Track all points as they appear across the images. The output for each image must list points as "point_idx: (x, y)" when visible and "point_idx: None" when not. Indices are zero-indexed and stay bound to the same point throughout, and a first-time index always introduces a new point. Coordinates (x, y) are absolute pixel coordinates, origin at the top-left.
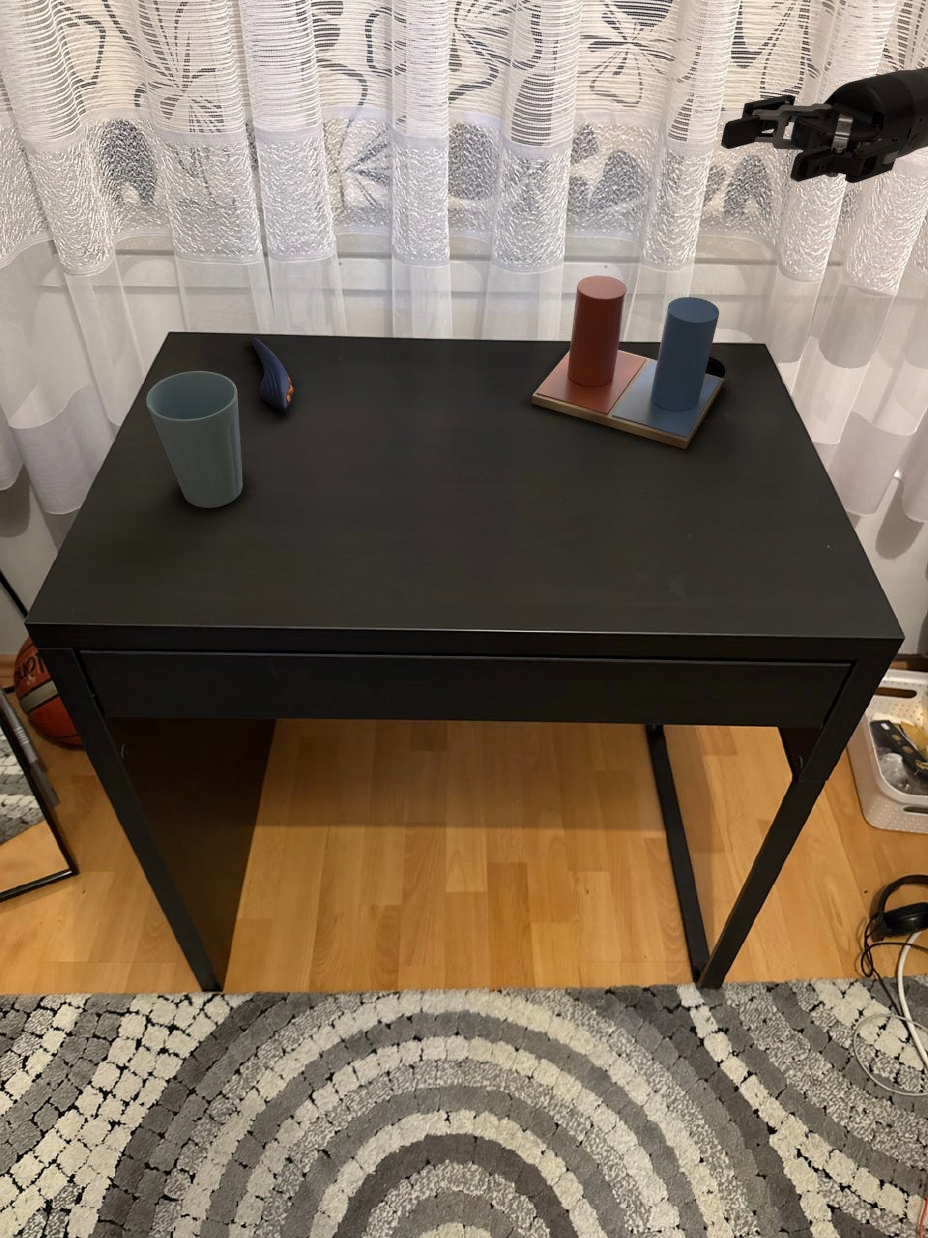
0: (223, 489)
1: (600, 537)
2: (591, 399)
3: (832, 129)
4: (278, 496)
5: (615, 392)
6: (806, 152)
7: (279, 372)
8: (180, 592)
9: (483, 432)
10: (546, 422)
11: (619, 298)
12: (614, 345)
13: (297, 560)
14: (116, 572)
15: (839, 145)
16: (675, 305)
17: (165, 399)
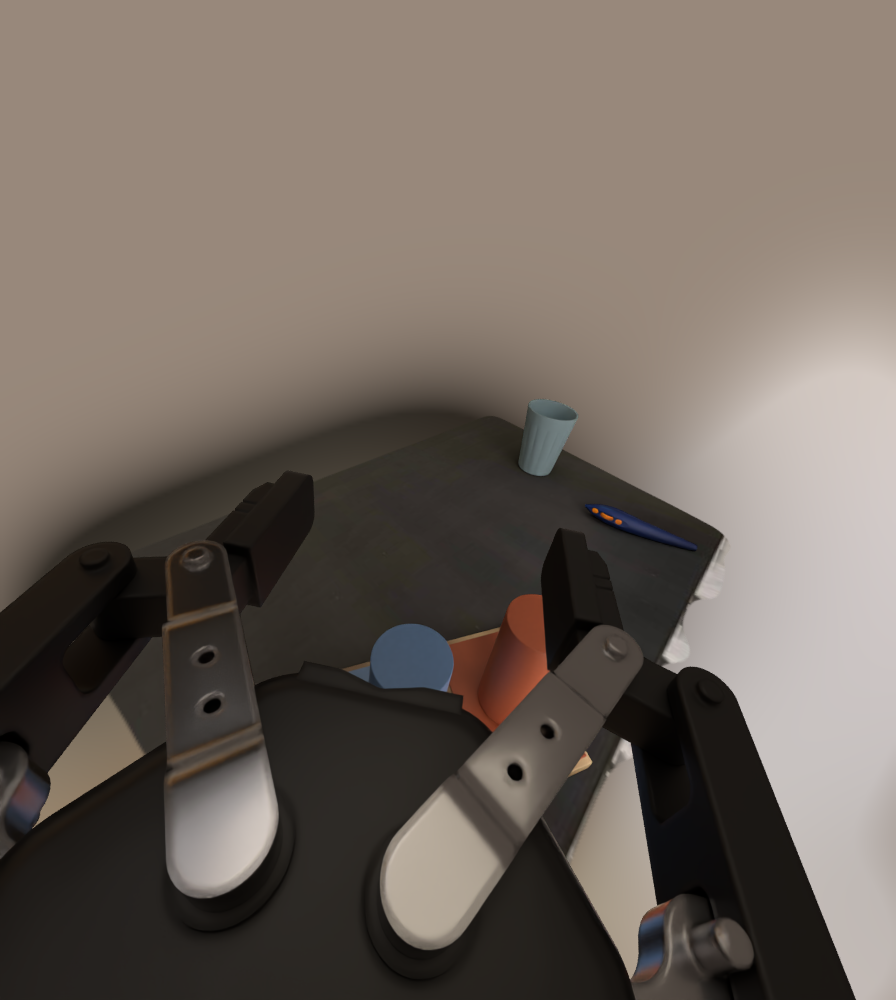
0: (520, 453)
1: (333, 542)
2: (465, 657)
3: (278, 710)
4: (510, 477)
5: (458, 687)
6: (289, 483)
7: (624, 514)
8: (471, 433)
9: (494, 575)
10: (473, 618)
11: (506, 618)
12: (490, 666)
13: (456, 458)
14: (500, 430)
15: (195, 550)
16: (439, 649)
17: (568, 419)
